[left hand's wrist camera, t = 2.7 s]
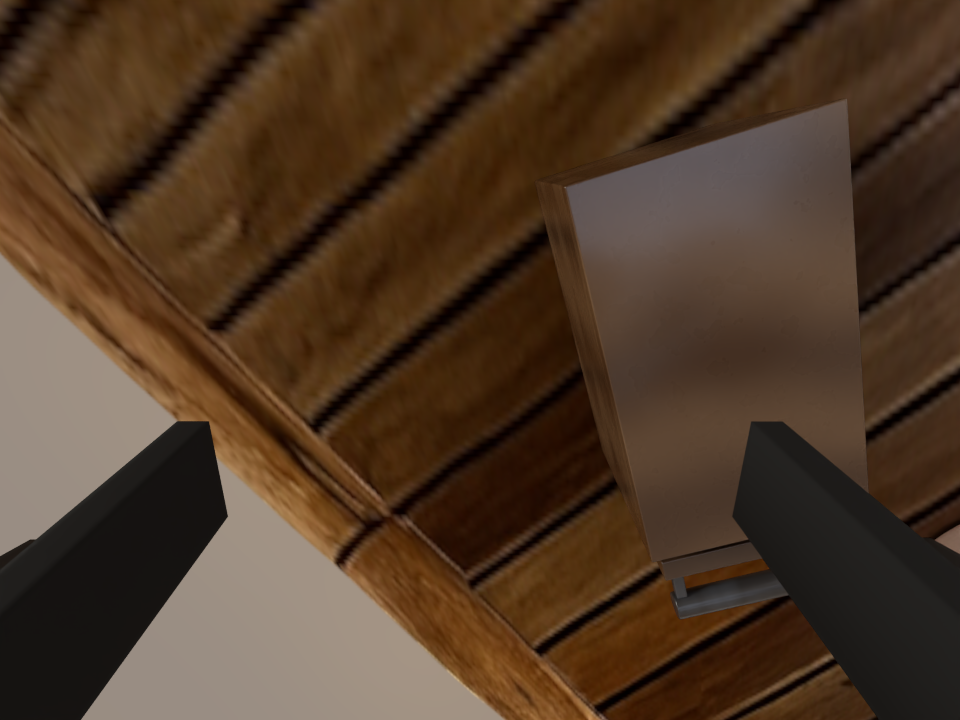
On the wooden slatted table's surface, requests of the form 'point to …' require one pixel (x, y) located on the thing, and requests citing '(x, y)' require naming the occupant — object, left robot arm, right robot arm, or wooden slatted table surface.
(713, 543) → the brown box
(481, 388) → the wooden slatted table surface
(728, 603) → the drawer
